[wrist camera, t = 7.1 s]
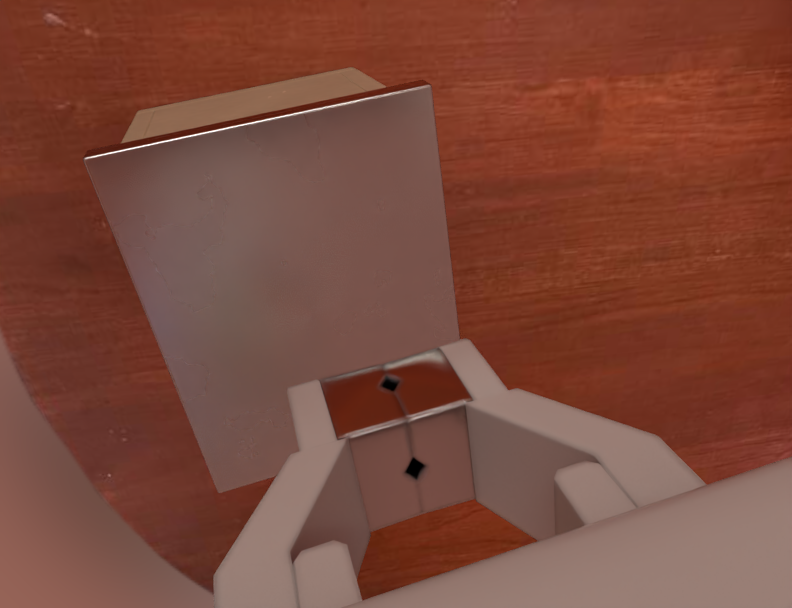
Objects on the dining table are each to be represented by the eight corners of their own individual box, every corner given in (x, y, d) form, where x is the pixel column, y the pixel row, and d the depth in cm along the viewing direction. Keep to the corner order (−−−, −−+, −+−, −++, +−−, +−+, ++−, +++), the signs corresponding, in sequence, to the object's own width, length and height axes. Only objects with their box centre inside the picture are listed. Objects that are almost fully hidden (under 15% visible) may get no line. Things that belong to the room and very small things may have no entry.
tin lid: (85, 150, 17) (81, 158, 17) (423, 78, 19) (432, 83, 18) (217, 479, 24) (218, 494, 23) (462, 406, 25) (469, 419, 25)
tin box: (136, 110, 28) (101, 176, 18) (353, 66, 29) (422, 107, 20) (214, 338, 33) (217, 478, 24) (393, 291, 35) (462, 406, 25)
